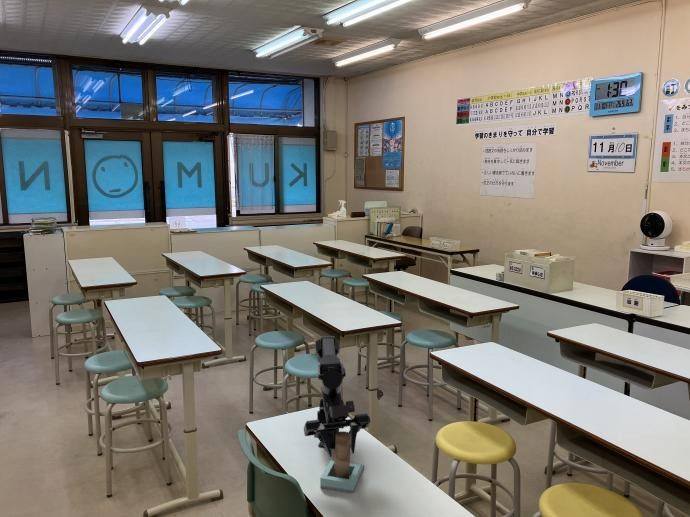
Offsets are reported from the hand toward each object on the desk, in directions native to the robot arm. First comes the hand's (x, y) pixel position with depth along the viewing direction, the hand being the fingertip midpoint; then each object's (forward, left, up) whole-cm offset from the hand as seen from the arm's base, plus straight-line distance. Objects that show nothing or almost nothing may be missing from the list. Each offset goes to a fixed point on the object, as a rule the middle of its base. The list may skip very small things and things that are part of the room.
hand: (342, 455), depth 151 cm
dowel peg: (-1, -1, -8) cm, 8 cm away
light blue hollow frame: (-3, -1, -9) cm, 9 cm away
